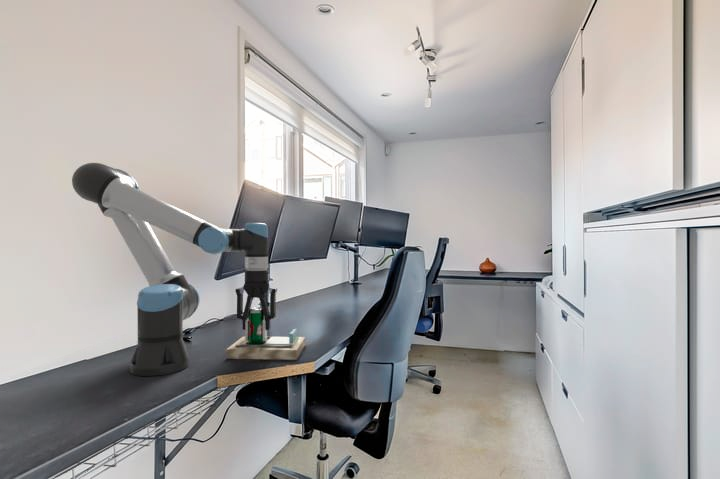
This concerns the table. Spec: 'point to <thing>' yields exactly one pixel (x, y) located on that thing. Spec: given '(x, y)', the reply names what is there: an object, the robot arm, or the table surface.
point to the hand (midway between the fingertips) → (256, 339)
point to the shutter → (284, 339)
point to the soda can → (255, 326)
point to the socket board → (265, 350)
